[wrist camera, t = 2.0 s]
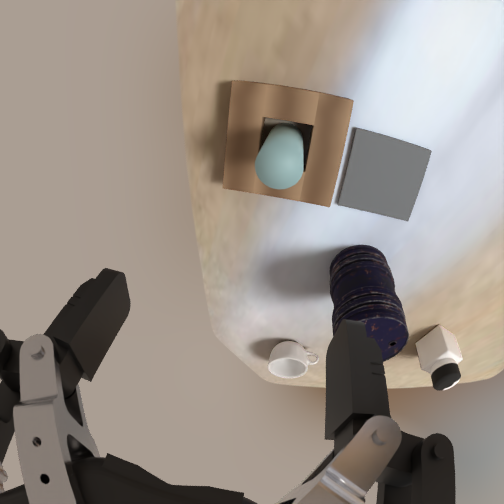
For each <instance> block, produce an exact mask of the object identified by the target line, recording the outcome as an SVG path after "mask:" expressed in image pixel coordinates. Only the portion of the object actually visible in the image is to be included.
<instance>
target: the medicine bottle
mask: <svg viewBox="0 0 504 504" xmlns="http://www.w3.org/2000/svg"><path fill="white" fill-rule="evenodd" d="M415 345H416V349H417V353H418V357H419V361H420V366H421V369H422V370H424V371H426V372H428V373H430V374H431V378H432V383H433V387H434V389H436V390H446V389H449V388H451V387H452V386H454V385H455V384H457V383H458V382H459V380H460V378H461V374H460V371H459V368H458V363H459V362H461V361H462V360H463V358H462V355H461V352H460V349H459V346H458V343H457V340H456V337H455V335H454V334H453V333H451V332H450V331H448V330H447V329H445V328H444V327H443V326H441V325H438V326H437V327H435V328H434V329H433V330H432V331H430V332H429V333H428V334H427V335H425V336H424V337H423V338H421V339H420V340H419V341H418V342H416V343H415Z"/></svg>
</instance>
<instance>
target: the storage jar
mask: <svg viewBox="0 0 504 504" xmlns="http://www.w3.org/2000/svg"><path fill="white" fill-rule="evenodd" d="M330 294H331V298H332V301H333V303H334V310H333V315H332V323H333V325H332V326H333V336H334V335H335V333H336V331H337V329H338V327H339V325H340V323H341V321H342V320H343V319H347V320H353V321H360V322H364V324H365V328H366V335H367V337H368V338H374V339H375V341H376V342H377V344H378V346H379V347H380V349H381V352H382V358H383V362H384V361H386V360H389V359H390V358H392V357H394V356H395V355H397V354H398V353H399V352H400V351H401V350H402V349H403V348H404V347H405V345H406V344H407V341H408V337H409V333H408V329H407V326H406V321H405V315H404V311H403V308H402V304H401V301H400V300H399V298H398V296H397V295H396V293H395V285H394V279H393V276H392V273H391V270H390V267H389V266H388V264H387V261H386V258H385V256H384V255H383V253H382V252H381V251H379V250H378V249H376V248H374V247H372V246H368V245H356V246H352V247H349V248H346V249H345V250H343V251H341V252H340V253H339V254H338V255H337V256H336V257H335V258H334V260H333V261H332V263H331V266H330Z"/></svg>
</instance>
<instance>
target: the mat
mask: <svg viewBox="0 0 504 504" xmlns="http://www.w3.org/2000/svg"><path fill="white" fill-rule="evenodd" d="M430 155H431V150H429V149H426V148H423V147H420V146H417V145H414V144H411V143H408V142H405V141H402V140H399V139H396V138H392V137H389V136H386V135H382V134H379V133H375V132H371V131H368V130H364V129H360V128H356V129H355V134H354V138H353V143H352V147H351V152H350V156H349V160H348V164H347V168H346V173H345V177H344V181H343V185H342V189H341V192H340V196H339V200H338V205H340V206H345V207H349V208H354V209H358V210H363V211H367V212H372V213H376V214H380V215H384V216H389V217H393V218H397V219H401V220H405V221H408V220H409V217H410V215H411V212H412V209H413V207H414V204H415V201H416V198H417V196H418V193H419V190H420V187H421V184H422V181H423V178H424V175H425V171H426V168H427V165H428V162H429V158H430Z"/></svg>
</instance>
